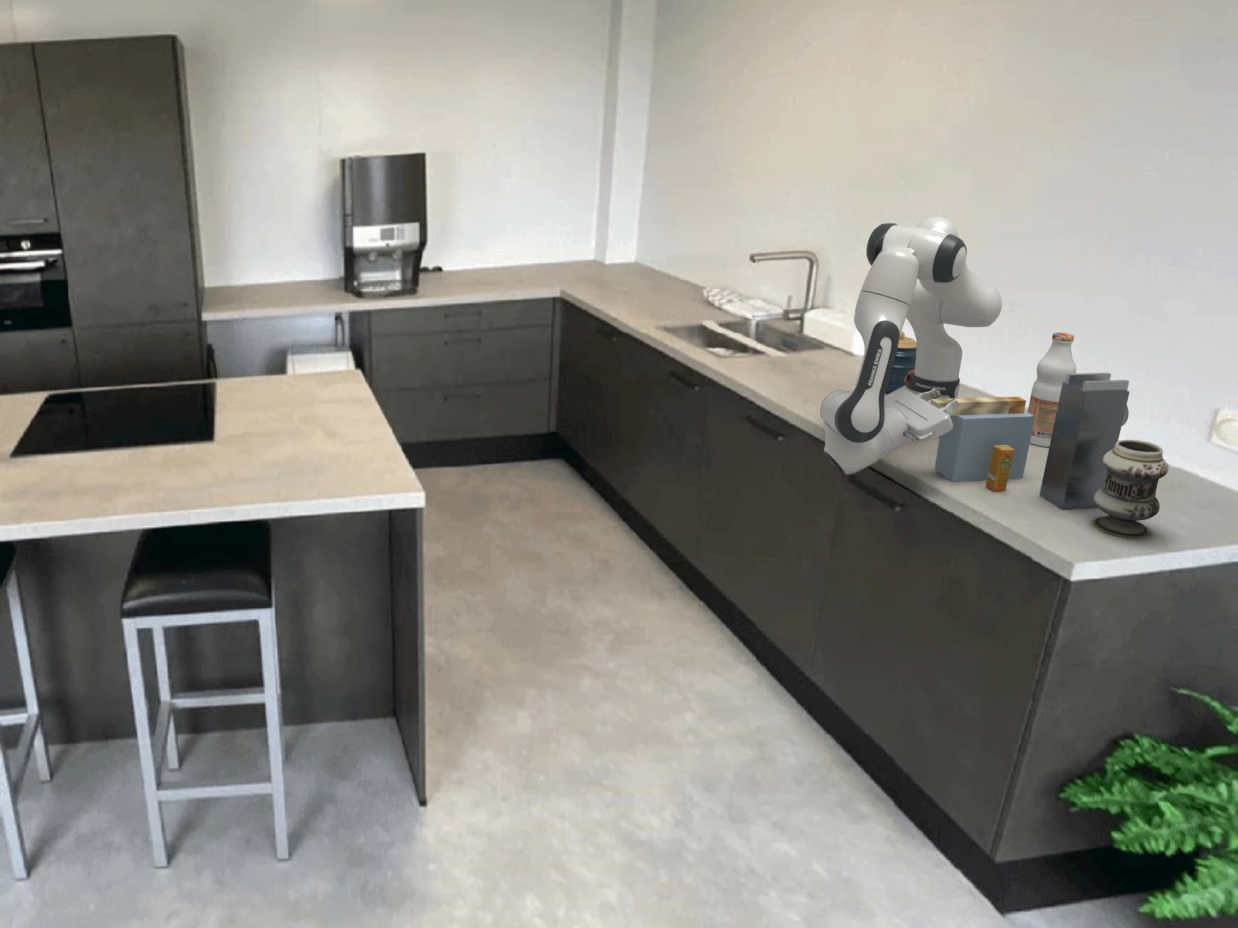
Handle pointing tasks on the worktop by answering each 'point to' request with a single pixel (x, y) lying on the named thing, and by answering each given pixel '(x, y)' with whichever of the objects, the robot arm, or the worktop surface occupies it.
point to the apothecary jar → (1130, 487)
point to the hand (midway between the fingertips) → (947, 396)
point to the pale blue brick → (983, 445)
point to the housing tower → (1083, 438)
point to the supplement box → (1000, 467)
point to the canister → (902, 363)
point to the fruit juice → (1050, 387)
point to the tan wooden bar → (984, 405)
